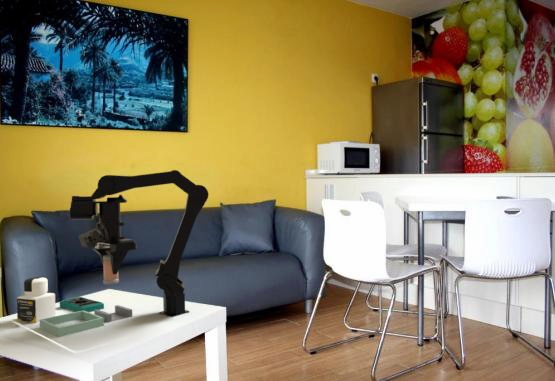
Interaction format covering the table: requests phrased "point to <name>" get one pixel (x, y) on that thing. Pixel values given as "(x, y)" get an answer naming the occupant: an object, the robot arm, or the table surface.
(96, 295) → the table surface
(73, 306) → the digital multimeter
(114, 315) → the grey cradle stand
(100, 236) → the robot arm
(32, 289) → the medicine bottle
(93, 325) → the tray
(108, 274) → the fuse
